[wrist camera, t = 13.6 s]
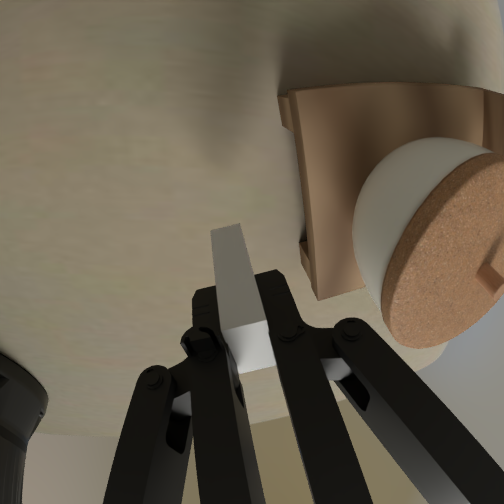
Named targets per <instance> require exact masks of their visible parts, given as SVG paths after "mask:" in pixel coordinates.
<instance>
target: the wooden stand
mask: <svg viewBox="0 0 504 504" xmlns="http://www.w3.org/2000/svg"><path fill="white" fill-rule="evenodd" d="M287 93H288V94H286V95H279V96H277V98H278V104H279V109H280V115H281V121H282V126H284V127H285V128H287V129H288V130H290V131H292V132H293V133H294V136H295V143H296V150H297V157H298V164H299V172H300V179H301V187H302V195H303V204H304V213H305V222H306V231H307V241H304V242H300V243H299V247H300V256H301V264H302V266H303V268H304V270H305V271H306V273H307V275H308V277H309V279H310V281H311V287H312V290H313V292H314V294H315V296H316V298H317V300H318V301H320V300H323V299H327V298H330V297H334V296H337V295H340V294H343V293H347V292H350V291H353V290H356V289H359V288H363V287H366V285H365V283H364V281H363V279H362V276H361V273H360V270H359V267H358V264H357V261H356V258H355V253H354V247H353V239H352V224H353V217H354V210H355V206H356V202H357V199H358V196H359V194H360V191H361V189H362V187H363V185H364V183H365V181H366V179H367V178H368V176H369V174H370V173H371V172H372V171H373V169H374V168H375V167H376V165H377V164H378V163H379V162H380V161H381V160H382V159H383V158H384V157H385V156H387V155H388V154H389V153H391V152H392V151H393V150H395V149H397V148H399V147H401V146H402V145H404V144H406V143H408V142H411V141H415V140H418V139H423V138H430V137H445V138H453V139H459V140H463V141H467V142H471V143H474V144H477V145H479V146H482V147H484V148H486V149H488V150H490V151H492V152H494V153H499V154H503V155H504V94H501V93H497V92H494V91H490V90H486V89H483V88H478V87H470V86H461V85H450V84H437V83H416V82H371V83H350V84H336V85H324V86H315V87H306V88H298V89H290V90H287Z"/></svg>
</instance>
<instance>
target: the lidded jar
mask: <svg viewBox="0 0 504 504" xmlns="http://www.w3.org/2000/svg"><path fill="white" fill-rule="evenodd" d="M352 239H353V247H354V253H355V258H356V261H357V264H358V267H359V270H360V273H361V276H362V279H363V281H364V283H365V285H366V288H367V290H368V292H369V294H370V295H371V297H372V299H373V300H374V302H375V304H376V305H377V307H378V309H379V310H380V312H381V313H382V316H383V320H384V322H385V324H386V326H387V327H388V329H389V331H390V332H391V334H392V336H393V337H394V339H395V340H396V341H397V342H399V343H400V344H401V345H404V346H406V347H410V348H416V349H421V348H428V347H432V346H436V345H439V344H441V343H444V342H446V341H448V340H450V339H452V338H454V337H456V336H458V335H459V334H461V333H462V332H464V331H465V330H467V329H468V328H469V327H471V326H472V325H473V324H474V323H476V322H477V321H478V320H479V319H480V318H482V317H483V315H485V314H486V313H487V312H488V311H489V310H490V308H492V307H493V306H494V305H495V303H496V302H497V301H498V300H499V298H500V297H501V296H502V295H503V293H504V155H503V154H499V153H494V152H492V151H490V150H488V149H486V148H484V147H482V146H479V145H477V144H474V143H471V142H467V141H463V140H459V139H453V138H445V137H430V138H423V139H418V140H415V141H411V142H408V143H406V144H404V145H402V146H401V147H399V148H397V149H395V150H393V151H392V152H391V153H389V154H388V155H387V156H385V157H384V158H383V159H382V160H381V161H380V162H379V163H378V164H377V165H376V167H375V168H374V169H373V171H372V172H371V173H370V174H369V176H368V178H367V179H366V181H365V183H364V185H363V187H362V189H361V191H360V194H359V196H358V199H357V202H356V206H355V210H354V217H353V224H352Z"/></svg>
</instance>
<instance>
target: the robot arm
mask: <svg viewBox="0 0 504 504" xmlns="http://www.w3.org/2000/svg"><path fill="white" fill-rule="evenodd" d="M211 242H212V252H213V263H214V273H215V282H216V285H215V286H211V287H207V288H203V289H199V290H196V292H195V294H194V296H193V298H192V309H193V310H192V316H193V318H192V322H193V327H191V328H190V329H189V330H187V331H186V332H185V333H184V335H183V336H182V338H181V342H180V344H181V346H182V347H183V349H184V351H185V352H186V354H187V356H188V357H187V358H186V359H185V360H184V361H182V362H181V363H179V364H177V365H175V366H173V367H171V368H169V369H167V368H166V367H164V366H160V365H155V366H151V367H149V368H146V369H145V370H144V371H143V372H142V373H141V374H140V376H139V378H138V380H137V383H136V386H135V389H134V392H133V395H132V399H131V402H130V405H129V408H128V411H127V415H126V418H125V421H124V425H123V428H122V432H121V435H120V439H119V442H118V446H117V450H116V453H115V457H114V460H113V464H112V468H111V472H110V476H109V480H108V484H107V489H106V492H105V496H104V501H103V504H181V502H182V496H183V489H184V483H185V477H186V471H187V466H188V460H189V455H190V449H191V444H192V438H194V450H195V460H196V470H197V479H198V488H199V496H200V504H266V502H265V498H264V493H263V488H262V484H261V479H260V475H259V470H258V465H257V460H256V455H255V450H254V446H253V441H252V435H251V430H250V425H249V420H248V414H247V409H246V404H245V398H244V393H243V387H242V384H241V382H240V380H239V375H238V372H239V374H241V373H246V372H250V371H254V370H258V369H263V368H267V367H271V366H274V365H276V366H277V369H278V373H279V378H280V382H281V386H282V389H283V392H284V396H285V400H286V403H287V407H288V411H289V415H290V418H291V422H292V426H293V429H294V433H295V437H296V440H297V444H298V448H299V451H300V455H301V459H302V462H303V466H304V469H305V473H306V476H307V480H308V484H309V488H310V491H311V494H312V498H313V502H314V504H373V502H372V499H371V496H370V493H369V490H368V487H367V484H366V482H365V479H364V476H363V473H362V470H361V467H360V465H359V462H358V459H357V456H356V453H355V451H354V448H353V445H352V442H351V440H350V437H349V434H348V431H347V429H346V426H345V423H344V421H343V418H342V415H341V413H340V410H339V407H338V405H337V402H336V399H335V397H334V394H333V391H332V389H331V386H330V383H329V381H328V380H333V381H334V382H335V383H336V385H337V386H338V387H339V388H340V390H341V391H342V392H343V394H344V395H345V396H346V398H347V399H348V400H349V402H350V403H351V404H352V405H353V407H354V408H355V409H356V411H357V412H358V413H359V415H360V416H361V417H362V419H363V420H364V421H365V422H366V424H367V425H368V426H369V428H370V429H371V430H372V431H373V433H374V434H375V435H376V437H377V438H378V439H379V441H380V442H381V443H382V444H383V446H384V447H385V448H386V450H387V451H388V452H389V453H390V455H391V456H392V457H393V459H394V460H395V461H396V462H397V464H398V465H399V466H400V468H401V469H402V470H403V471H404V472H405V474H406V475H407V477H408V478H409V479H410V480H411V482H412V483H413V484H414V485H415V487H416V488H417V489H418V490H419V492H420V493H421V494H422V496H423V497H424V498H425V499H426V501H427V502H428V503H429V504H504V471H503V470H502V469H501V468H500V467H499V465H498V464H497V463H496V462H495V461H494V460H493V458H492V457H491V456H490V455H489V454H488V453H487V451H486V450H485V449H484V448H483V447H482V446H481V444H480V443H479V442H478V441H477V440H476V439H475V438H474V437H473V435H472V434H471V433H470V432H469V431H468V430H467V429H466V428H465V426H464V425H463V424H462V423H461V422H460V421H459V420H458V419H457V417H456V416H455V415H454V414H453V413H452V412H451V411H450V410H449V409H448V408H447V407H446V405H445V404H444V403H443V402H442V401H441V400H440V399H439V398H438V397H437V396H436V395H435V393H433V391H432V390H431V389H430V388H429V387H428V386H427V385H426V384H425V383H424V382H423V381H422V380H421V378H420V377H419V376H418V375H417V374H416V373H415V372H414V371H413V370H412V369H411V368H410V367H409V366H408V365H407V364H406V363H405V362H404V361H403V360H402V358H401V357H400V356H399V355H398V354H397V353H396V352H395V351H394V350H393V349H392V348H391V347H390V346H389V345H388V344H387V343H386V342H385V341H384V340H383V339H382V338H381V337H380V336H379V335H378V334H377V333H376V332H375V331H374V330H373V329H372V328H371V327H370V326H369V325H368V324H367V323H366V322H365V321H363V320H362V319H358V318H345V319H343V320H340V321H339V322H338V323H337V324H335V326H334V328H315V327H312V326H309V325H308V324H306V323H305V322H304V321H303V320H302V318H301V317H300V314H299V312H298V309H297V307H296V304H295V301H294V299H293V296H292V294H291V292H290V289H289V286H288V284H287V282H286V279H285V277H284V275H283V274H282V273H280V272H279V271H278V270H277V269H275V270H271V271H267V272H264V273H260V274H256V275H254V273H253V269H252V266H251V262H250V258H249V255H248V251H247V248H246V244H245V240H244V237H243V233H242V229H241V226H240V223H239V224H235V225H231V226H227V227H223V228H219V229H215V230H211ZM47 405H48V396H47V393H46V392H45V390H44V389H43V387H42V386H41V385H40V384H39V383H38V382H37V381H36V380H35V379H34V378H33V377H32V376H31V375H30V374H28V373H27V372H26V371H25V370H23V369H22V368H21V367H19V366H18V365H17V364H15V363H14V362H12V361H11V360H9V359H7V358H6V357H4V356H2V355H0V504H22V489H23V475H24V467H25V459H26V451H27V445H28V441H29V439H30V438H31V436H32V434H33V433H34V431H35V430H36V428H37V426H38V425H39V423H40V421H41V419H42V418H43V417H44V415H45V413H46V409H47Z"/></svg>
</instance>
